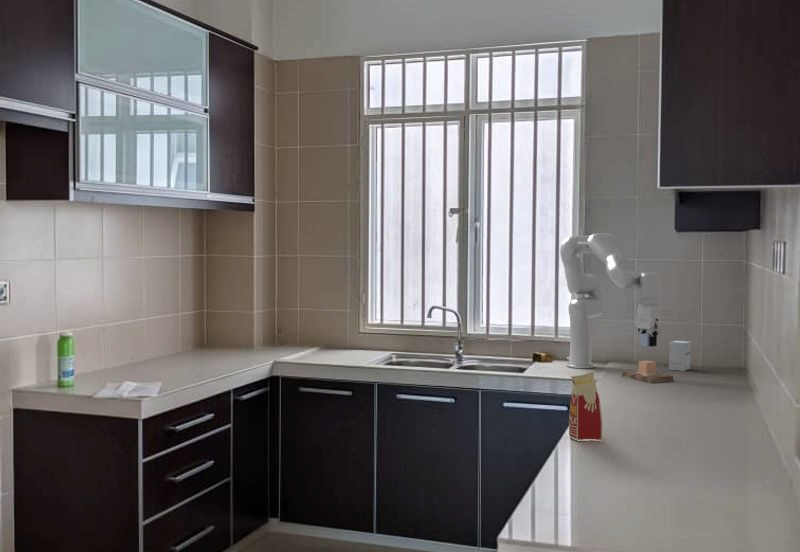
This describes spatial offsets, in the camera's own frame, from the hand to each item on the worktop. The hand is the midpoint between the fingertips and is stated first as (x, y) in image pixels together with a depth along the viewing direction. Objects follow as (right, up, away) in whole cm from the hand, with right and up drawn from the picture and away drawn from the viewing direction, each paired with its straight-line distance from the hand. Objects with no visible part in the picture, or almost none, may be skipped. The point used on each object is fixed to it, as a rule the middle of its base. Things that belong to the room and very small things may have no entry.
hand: (648, 344), depth 342 cm
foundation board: (0, -14, +1) cm, 14 cm away
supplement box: (+22, -14, +25) cm, 36 cm away
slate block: (0, -1, 0) cm, 1 cm away
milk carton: (-50, -19, -102) cm, 115 cm away
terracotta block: (0, -12, +1) cm, 12 cm away
